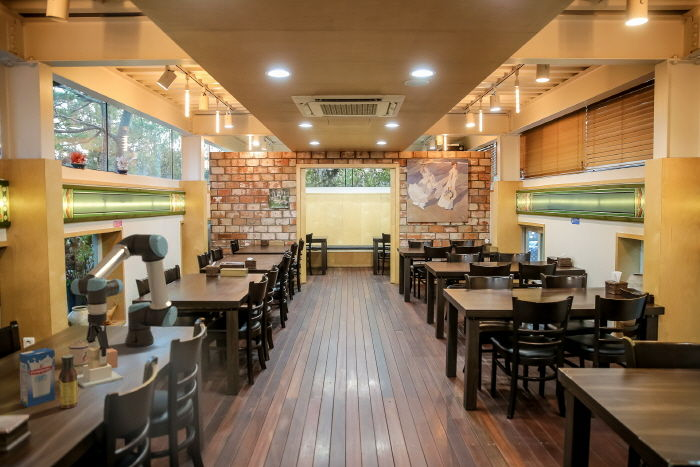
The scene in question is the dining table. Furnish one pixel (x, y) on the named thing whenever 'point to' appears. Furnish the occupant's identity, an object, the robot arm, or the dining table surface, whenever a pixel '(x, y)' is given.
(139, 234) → the robot arm
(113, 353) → the terracotta block
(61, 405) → the sauce bottle
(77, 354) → the teacup with lid
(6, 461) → the dining table surface
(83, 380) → the base
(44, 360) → the milk carton
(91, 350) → the maple block
